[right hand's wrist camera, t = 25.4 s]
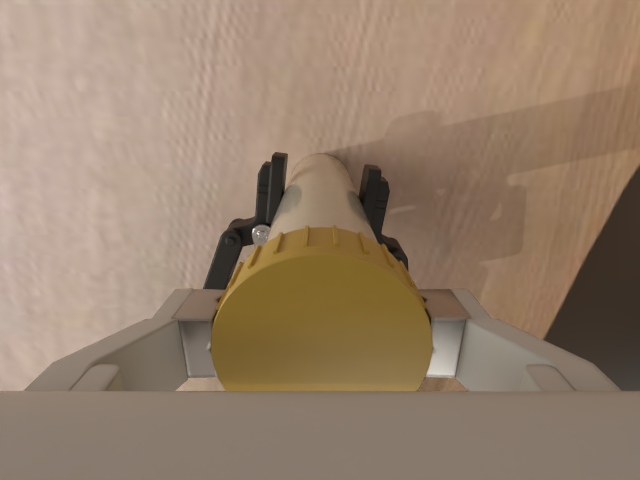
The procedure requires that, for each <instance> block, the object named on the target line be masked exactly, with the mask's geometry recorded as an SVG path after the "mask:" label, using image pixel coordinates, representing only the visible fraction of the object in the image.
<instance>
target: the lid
mask: <svg viewBox="0 0 640 480" xmlns="http://www.w3.org/2000/svg"><path fill="white" fill-rule="evenodd" d="M426 308H427V307H426V304H425V302H424V301H423V299H422V297H421V295H420V293H419V291H418V289H417V287H416V286H415V284H414V282H413V281H412V279H411V277H410V275H409V273H408V271H407V269H406V267H405V266H404V264H403V262H402V261H400V262H398V261H397V260H396V258H395V257H394V256H393V255H392V254H391V253H390V252H389V251H388V249H387V247H386V245H385V244H382V245H380V244H378V243H377V242H375V241H373V240H372V239H370V238H368V237H365V236H364V234H363V232H360V231H359V233H355V232H352V231H349V230H345V229H339V228H337V226H336V225H333V226H332V227H311V228H309V225H306V226H305V228H304V229H298V230H294V231H291V232H288V233H285V234H283V232H280V233H278V236H277V237H275V238H273V239H271V240H269V241H268V242H266V243H265V244H263V245H262V246H260V245H259V244H258V245H257V246H256V247H255V250H254V252H253V253H252V254H251V255H250V256H249V257H248V258H247V259H246V261H245V262H244V263H242V262H240V263H239V265H238V267H237V269H236V271H235V273H234V275H233V277H232V279H231V281H230V282H229V284H228V286H227V288H226V290H225V292H224V294H223V296H222V297H221V299H220V301H219V303H218V305H217V308H216V310H218V312H217V315H216V317H215V319H214V323H213V327H212V331H211V342H210V345H211V356H212V361H213V365H214V369H215V371H216V374H217V376H218V379H219V380H220V382H221V384H222V385H223V387H224V389H225V390H226V391H417V390H418V389H419V388H420V386H421V384H422V382H423V380H424V379H425V377H426V374H427V372H428V369H429V366H430V362H431V357H432V349H433V338H432V329H431V326H430V322H429V318H428V316H427V314H426V311H425V309H426Z"/></svg>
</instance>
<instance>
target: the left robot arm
mask: <svg viewBox="0 0 640 480" xmlns="http://www.w3.org/2000/svg"><path fill="white" fill-rule="evenodd" d="M287 159H288V154H286V153H278V152H275V153H274V154H273V156H272V160H271V162H267V161H266V162H265V163H264V164H263V165H262V167H261V169H260V171H259V173H258V183H257V184H258V185H257V199H256V214H255V216H254V217H253V218H250V219H245V220H243V219H235V220H233V221H232V222H231V223H230V225H229V227H228V229H227V230H226V231H225V232H224V233H223V234H222V235H221V237H220V240H219V243H218V246H217V249H216V252H215V255H214V258H213V261H212V264H211V267H210V270H209V272H208V275H207V278H206V281H205V284H204V287H203V289H218V290H226V288H227V286H228V284H229V282H230V281H231V279H232V278H231V277H232V275H233V272H234V269H235V266H236V264H237V261H238V258H239V256H240V253H241V250H242V247H243V246H247V245H252V244H254V245H255V247H256V246H257V245H258V244H259V245H260V246H262V245H263V244H264V241H265V239H266V236H267V234H268V232H269V229H270V227H271V224H272V222H273V219H274V217H275V214H276V212H277V209H278V207H279V204H280V202H281V200H282V197H283V195H284V191H285V180H286V170H287ZM389 192H390V191H389V186H388V182H387V181H386V179H385V178H384V177H381V169H380V168H379V167H378V166H373V165H366V164H365V166H364V170H363V176H362V181H361V187H360V192H359V199H360V202H361V204H362V206H363V209H364V211H365V214H366V216H367V218H368V221H369V223H370V225H371V228H372V230H373V232H374V235H375V237H376V239H377V242H378V244H380V245H382V244H385V245H386V247H387V249H388V251H389V252H390V253H391V254H392V255H393V256H394V257H395V258H396V260H397V261H398V262H400V261H402V262H403V264H404V266H405V267H406V269H407V271H408V259H407V257H406V255H405V253H404V251H403V250H402V248H401V246H400V245H399V243H398V241H397V240H396V239H394V238H388V237H386V236H384V235H382V234H381V230H382V225H383V221H384V216H385V211H386V206H387V201H388V197H389Z"/></svg>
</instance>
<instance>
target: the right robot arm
mask: <svg viewBox="0 0 640 480" xmlns="http://www.w3.org/2000/svg"><path fill="white" fill-rule="evenodd" d="M418 291H419V293H420V295H421V297H422V299H423V301H424V302H425V304H426V307H427V308H426V309H425V311H426V314H427V316H428V318H429V322H430V326H431V329H432V338H433V349H432V357H431V362H430V366H429V369H428V372H427V374H426V377H443V378H456V380H457V381H458V382H459V383H461V384H462V385H463V386H464V387H465V388H466V389H468V390H469V391H175V390H176V389H177V388H179V387H180V386H181V385H182V384H183V383H184V382H185V381H187V380H188V378H200V377H218V376H217V374H216V371H215V369H214V365H213V361H212V356H211V345H210V342H211V331H212V327H213V323H214V319H215V317H216V315H217V312H218V310H216V308H217V305H218V303H219V301H220V299H221V297H222V296H223V294H224V292H225V290H218V289H176V290H174V291H173V293H172V294H171V295H170V296H169V298H168V299H167V300H166V301H165V303H164V304H163V305H162V306H161V308H160V309H159V310H158V311H157V313H156V314H155V315H154V316H153V318H152V319H145V320H143V321H141V322H138V323H136V324H134V325H132V326H130V327H128V328H126V329H124V330H121V331H119V332H117V333H115V334H113V335H111V336H109V337H107V338H104V339H102V340H100V341H98V342H96V343H94V344H92V345H90V346H87V347H85V348H83V349H81V350H79V351H77V352H75V353H73V354H70V355H68V356H66V357H64V358H62V359H60V360H58V361H56V362H53V363H52V364H51V365H50V366H49V367H48V368H47V369H46V370H45V371H44V372H43V373H42V374H40V375H39V376H38V377H37V378H36V379H35V380H34V381H33V382H32V383H31V384H30V385H29V386H28V387H27V388H26V389H25V390H24V391H0V480H640V391H621V390H620V389H619V388H618V387H617V386H616V385H615V384H614V383H613V382H612V381H611V380H610V379H609V378H608V377H607V376H606V375H605V374H603V373H602V372H601V371H600V370H599V369H598V368H597V367H596V366H595V365H594V364H593V363H591V362H589V361H587V360H584V359H582V358H580V357H578V356H576V355H574V354H572V353H569V352H567V351H565V350H563V349H561V348H559V347H557V346H555V345H552V344H550V343H548V342H546V341H544V340H542V339H540V338H537V337H535V336H533V335H531V334H529V333H527V332H525V331H522V330H520V329H518V328H516V327H514V326H512V325H510V324H507V323H505V322H503V321H501V320H499V319H492V318H491V317H490V316H489V314H488V313H487V312H486V311H485V310H484V308H483V307H482V306H481V305H480V303H479V302H478V301H477V300H476V299H475V297H474V296H473V295H472V294H471V292H470V291H469V290H467V289H430V290H418Z"/></svg>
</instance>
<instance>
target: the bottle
mask: <svg viewBox="0 0 640 480" xmlns="http://www.w3.org/2000/svg"><path fill="white" fill-rule="evenodd" d="M306 225H309V228H311V227H332V226H333V225H336V226H337V228H339V229H345V230H349V231H352V232H355V233H359V231H360V232H363V234H364V236H365V237H368V238H370V239H372V240H373V241H375V242H377V239H376V237H375V235H374V232H373V230H372V228H371V225H370V223H369V221H368V218H367V216H366V214H365V211H364V209H363V206H362V204H361V202H360V199H359V197H358V195H357V192H356V190H355V188H354V185H353V183H352V181H351V178H350V176H349V174H348V171H347V169H346V168H345V166H344V165H343V164H342V163H341V162H340V161H339V160H338V159H336V158H334V157H332V156H330V155H326V154H315V155H311V156H308V157H306V158H305V159H303V160H302V161H301V162H299V163H298V165H297V166H296V167H295V169H294V170H293V173H292V175H291V177H290V180H289V182H288V185H287V187H286V190H285V192H284V195H283V197H282V200H281V202H280V204H279V207H278V209H277V212H276V214H275V217H274V219H273V222H272V224H271V227H270V229H269V232H268V234H267V236H266V239H265V241H264V244H265V243H266V242H268V241H269V240H271V239H273V238H275V237H277V236H278V233H280V232H283V234H285V233H288V232H291V231H294V230H298V229H304V228H305V226H306ZM377 243H378V242H377Z"/></svg>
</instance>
